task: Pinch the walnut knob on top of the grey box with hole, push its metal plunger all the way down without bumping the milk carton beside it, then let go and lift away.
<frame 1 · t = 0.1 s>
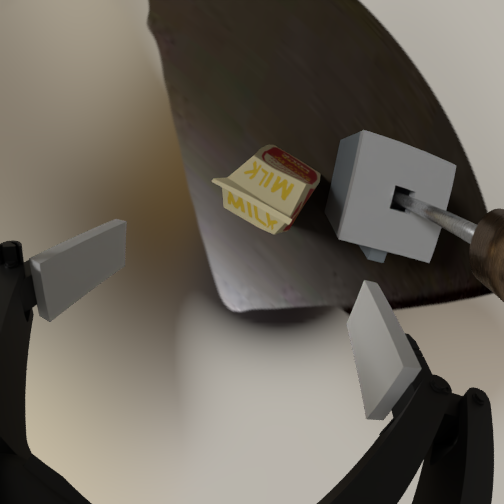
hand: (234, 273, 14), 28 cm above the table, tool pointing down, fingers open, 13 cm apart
grey box with hole: (367, 185, 37), on the table
plunger: (433, 214, 17), point 21 cm above the table, slide at 8.0 cm
milk carton: (277, 183, 40), on the table
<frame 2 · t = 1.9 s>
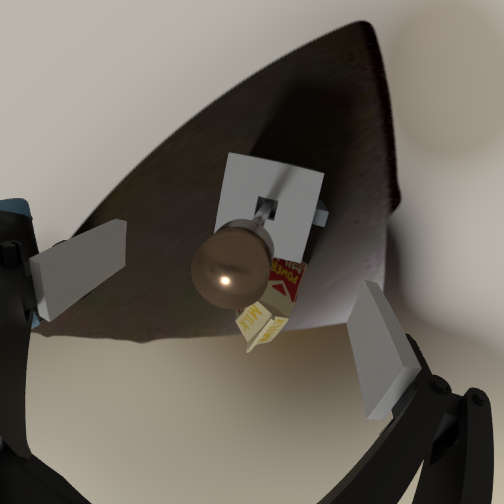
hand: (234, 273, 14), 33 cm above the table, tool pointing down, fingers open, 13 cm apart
grey box with hole: (274, 193, 45), on the table
plunger: (258, 221, 25), point 21 cm above the table, slide at 8.0 cm
milk carton: (274, 268, 50), on the table
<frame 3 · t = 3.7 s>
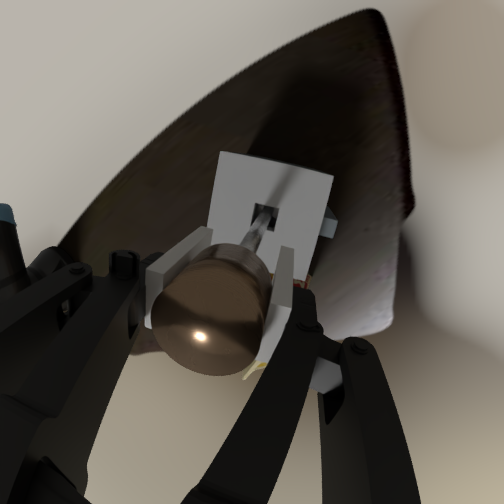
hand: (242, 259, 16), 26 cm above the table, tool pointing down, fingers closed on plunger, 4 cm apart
grey box with hole: (275, 197, 40), on the table
plunger: (254, 236, 20), point 21 cm above the table, slide at 8.0 cm, touching gripper
milk carton: (274, 280, 45), on the table
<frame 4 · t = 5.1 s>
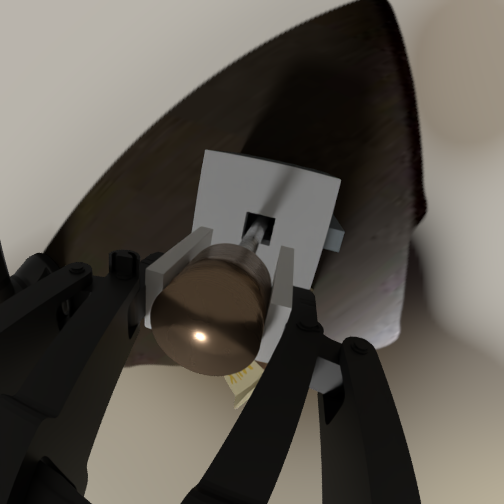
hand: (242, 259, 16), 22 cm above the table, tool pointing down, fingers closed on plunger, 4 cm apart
grey box with hole: (272, 202, 36), on the table
plunger: (253, 236, 20), point 17 cm above the table, slide at 3.4 cm, touching gripper
milk carton: (271, 293, 41), on the table
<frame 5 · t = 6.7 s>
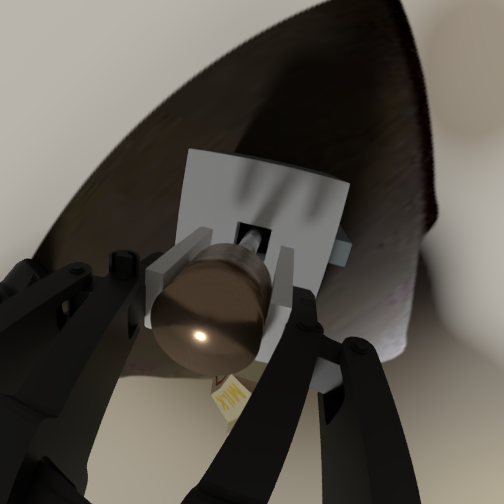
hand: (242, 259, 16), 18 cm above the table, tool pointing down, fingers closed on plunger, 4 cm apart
grey box with hole: (269, 206, 33), on the table
plunger: (253, 236, 20), point 13 cm above the table, slide at -0.2 cm, touching gripper
milk carton: (269, 305, 37), on the table
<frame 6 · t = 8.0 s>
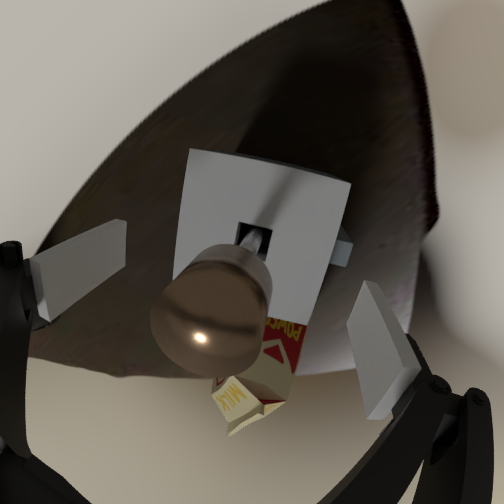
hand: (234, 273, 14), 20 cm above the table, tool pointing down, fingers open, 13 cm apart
grey box with hole: (270, 206, 33), on the table
plunger: (254, 237, 20), point 13 cm above the table, slide at -0.1 cm
milk carton: (270, 305, 37), on the table
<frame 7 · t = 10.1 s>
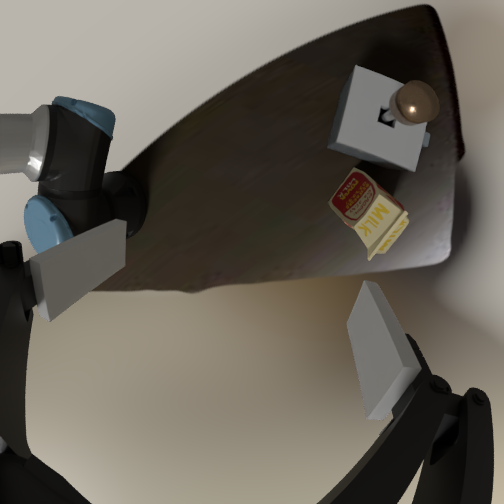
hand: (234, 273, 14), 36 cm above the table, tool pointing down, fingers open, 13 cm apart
grey box with hole: (363, 128, 42), on the table
plunger: (385, 118, 29), point 13 cm above the table, slide at -0.1 cm
milk carton: (358, 203, 46), on the table
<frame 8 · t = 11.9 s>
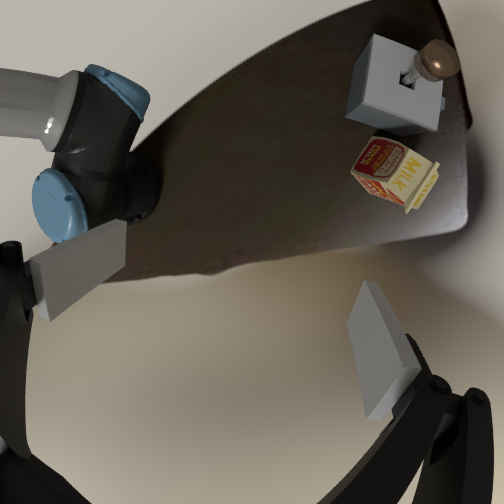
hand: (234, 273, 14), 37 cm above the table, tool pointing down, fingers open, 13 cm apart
grey box with hole: (378, 99, 40), on the table
plunger: (404, 81, 27), point 13 cm above the table, slide at -0.1 cm
milk carton: (379, 171, 44), on the table
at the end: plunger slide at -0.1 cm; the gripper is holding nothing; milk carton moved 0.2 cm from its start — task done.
